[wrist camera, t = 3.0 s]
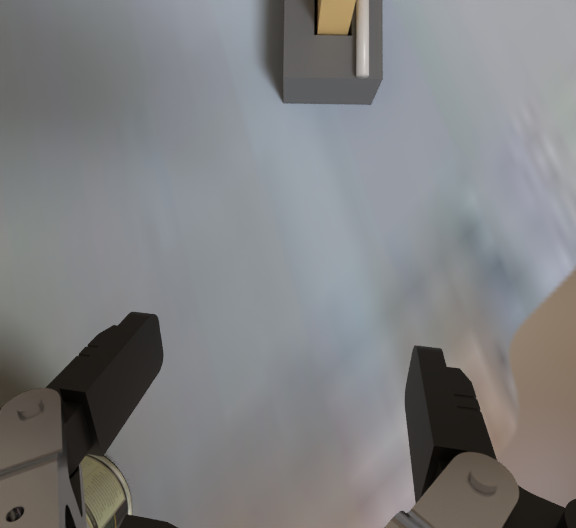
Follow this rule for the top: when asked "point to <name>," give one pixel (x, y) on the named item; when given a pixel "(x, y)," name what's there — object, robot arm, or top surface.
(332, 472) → the top surface
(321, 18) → the tall tan rectangular block
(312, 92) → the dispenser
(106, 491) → the coffee can
